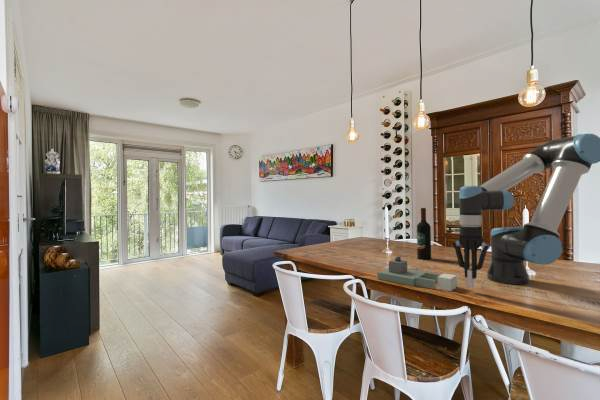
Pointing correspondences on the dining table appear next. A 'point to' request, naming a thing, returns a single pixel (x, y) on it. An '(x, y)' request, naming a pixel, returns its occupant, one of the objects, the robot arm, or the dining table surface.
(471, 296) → the dining table surface
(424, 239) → the wine bottle
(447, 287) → the pale grey block
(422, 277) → the stepped grey base
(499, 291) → the dining table surface
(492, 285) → the dining table surface
